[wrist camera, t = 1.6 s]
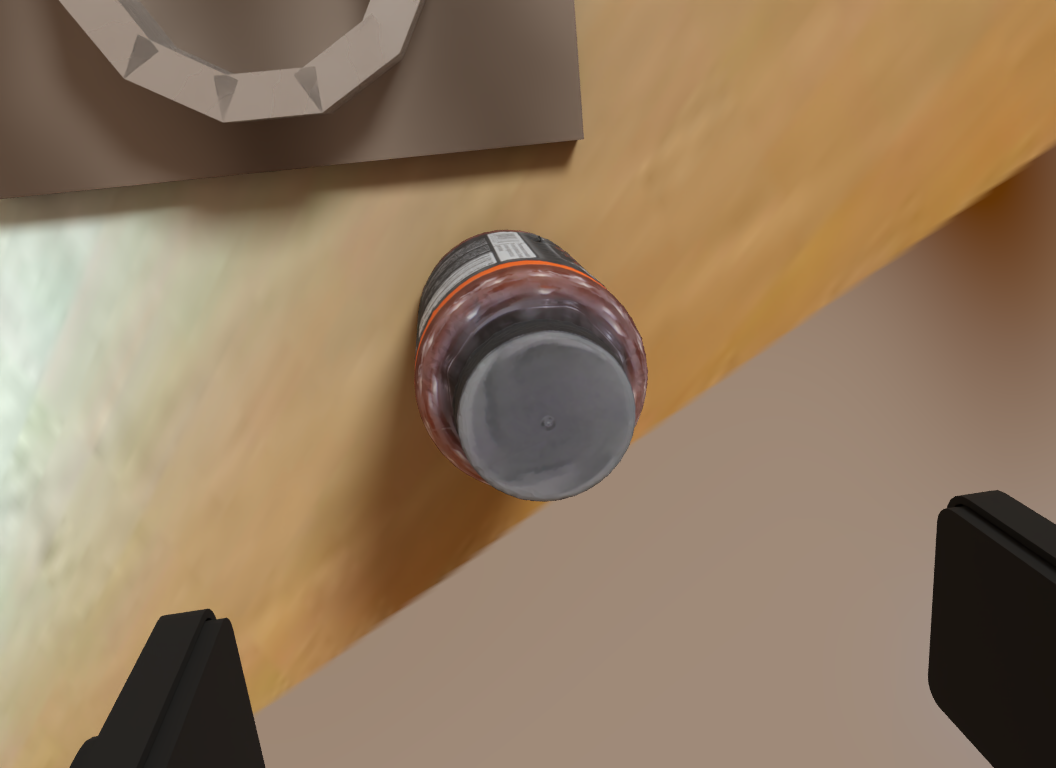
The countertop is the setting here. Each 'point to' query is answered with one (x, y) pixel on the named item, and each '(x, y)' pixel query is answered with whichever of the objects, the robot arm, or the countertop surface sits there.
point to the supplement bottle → (526, 367)
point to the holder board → (274, 44)
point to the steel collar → (318, 88)
